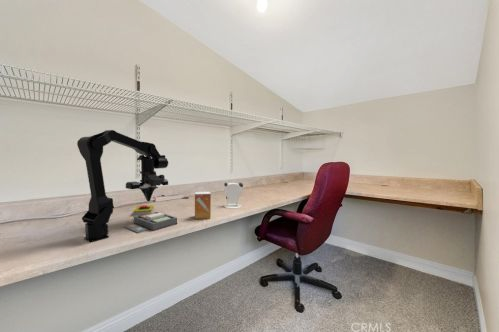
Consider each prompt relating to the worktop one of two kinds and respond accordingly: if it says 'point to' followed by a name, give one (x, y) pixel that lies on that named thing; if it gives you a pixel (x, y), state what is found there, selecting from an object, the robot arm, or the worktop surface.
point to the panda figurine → (233, 195)
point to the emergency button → (143, 210)
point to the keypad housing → (155, 226)
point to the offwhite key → (154, 216)
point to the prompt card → (135, 228)
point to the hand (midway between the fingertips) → (148, 201)
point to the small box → (202, 205)
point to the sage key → (161, 219)
